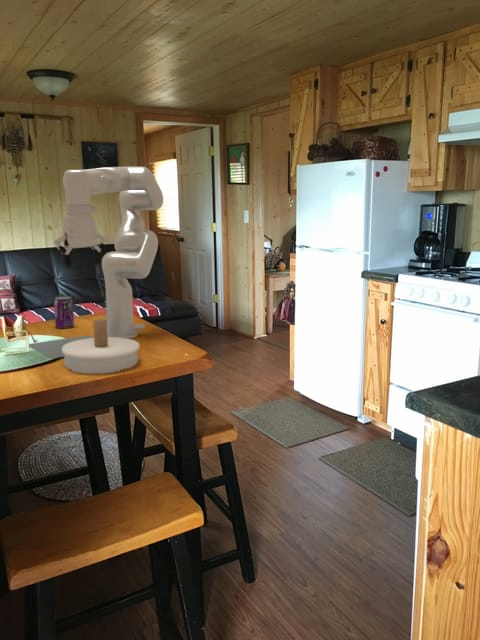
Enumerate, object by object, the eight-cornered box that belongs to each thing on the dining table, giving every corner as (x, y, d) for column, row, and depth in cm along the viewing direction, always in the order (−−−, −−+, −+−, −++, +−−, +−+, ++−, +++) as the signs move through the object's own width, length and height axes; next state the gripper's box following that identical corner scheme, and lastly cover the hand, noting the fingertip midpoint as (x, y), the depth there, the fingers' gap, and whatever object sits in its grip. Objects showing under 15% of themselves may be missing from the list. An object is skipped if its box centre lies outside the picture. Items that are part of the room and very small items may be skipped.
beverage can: (70, 329, 215) (69, 299, 213) (52, 328, 216) (51, 298, 213) (76, 325, 222) (74, 296, 220) (59, 325, 222) (57, 296, 220)
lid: (117, 337, 184) (116, 310, 182) (153, 350, 166) (152, 321, 165) (50, 347, 169) (48, 318, 167) (81, 363, 152) (80, 331, 150)
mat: (87, 336, 203) (87, 335, 203) (117, 348, 186) (117, 347, 186) (25, 346, 188) (25, 344, 188) (52, 360, 171) (51, 358, 171)
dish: (148, 368, 165) (148, 352, 164) (75, 379, 154) (74, 362, 153) (123, 352, 183) (123, 337, 182) (56, 360, 172) (55, 345, 171)
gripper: (97, 210, 178) (100, 262, 182) (47, 211, 167) (51, 267, 171) (109, 210, 173) (112, 264, 177) (58, 211, 161) (62, 269, 165)
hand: (82, 265), depth 174 cm, fingers open, 9 cm apart
